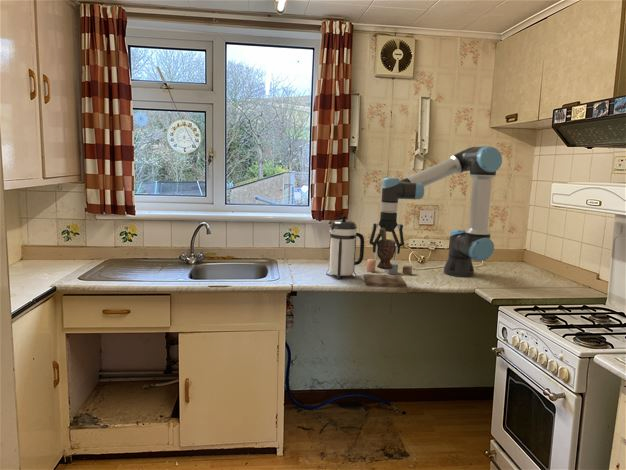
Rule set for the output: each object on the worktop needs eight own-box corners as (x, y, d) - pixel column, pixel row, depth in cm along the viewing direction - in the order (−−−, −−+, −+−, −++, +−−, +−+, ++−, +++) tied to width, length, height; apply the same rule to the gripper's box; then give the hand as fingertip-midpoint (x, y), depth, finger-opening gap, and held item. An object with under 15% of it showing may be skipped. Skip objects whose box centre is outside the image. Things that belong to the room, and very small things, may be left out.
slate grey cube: (393, 271, 235) (394, 262, 234) (397, 274, 230) (398, 264, 229) (384, 272, 234) (385, 262, 233) (388, 274, 229) (388, 264, 228)
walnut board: (400, 278, 221) (400, 275, 221) (406, 287, 205) (406, 284, 205) (363, 277, 221) (363, 274, 221) (366, 285, 206) (366, 282, 205)
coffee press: (354, 281, 212) (358, 218, 207) (322, 277, 217) (324, 215, 212) (362, 273, 228) (366, 214, 223) (332, 270, 233) (335, 212, 228)
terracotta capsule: (374, 270, 236) (375, 259, 235) (375, 272, 232) (376, 260, 231) (366, 269, 236) (366, 258, 235) (367, 272, 232) (367, 260, 231)
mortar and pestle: (394, 272, 206) (397, 228, 203) (375, 271, 207) (378, 227, 204) (393, 266, 217) (395, 225, 214) (375, 265, 218) (377, 224, 215)
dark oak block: (411, 273, 232) (412, 266, 231) (410, 275, 228) (410, 267, 228) (403, 272, 233) (404, 265, 233) (402, 274, 230) (402, 266, 229)
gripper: (410, 211, 212) (406, 259, 215) (364, 209, 212) (361, 257, 215) (413, 213, 204) (409, 262, 208) (366, 211, 204) (363, 260, 208)
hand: (385, 259), depth 212 cm, fingers closed on mortar and pestle, 8 cm apart
